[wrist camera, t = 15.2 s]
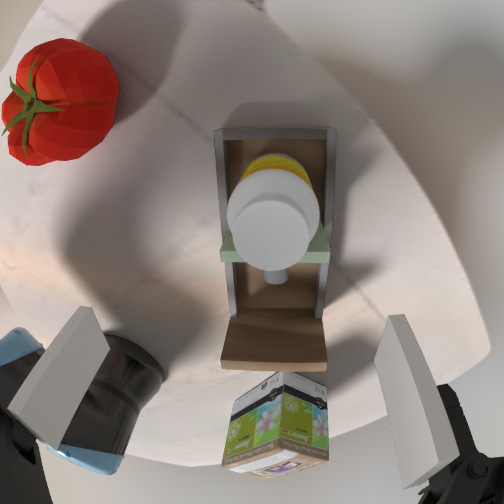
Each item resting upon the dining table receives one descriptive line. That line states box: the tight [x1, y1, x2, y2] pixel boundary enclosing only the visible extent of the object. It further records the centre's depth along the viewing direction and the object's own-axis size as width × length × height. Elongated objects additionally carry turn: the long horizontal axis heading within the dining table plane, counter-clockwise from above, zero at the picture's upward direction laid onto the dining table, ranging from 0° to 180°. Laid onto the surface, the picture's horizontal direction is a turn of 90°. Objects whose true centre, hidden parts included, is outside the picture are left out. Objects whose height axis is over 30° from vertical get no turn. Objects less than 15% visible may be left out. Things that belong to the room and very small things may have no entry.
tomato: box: [2, 38, 120, 166], centre depth 21 cm, size 13×14×12 cm
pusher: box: [220, 218, 330, 284], centre depth 27 cm, size 5×9×8 cm, turn 92°
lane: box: [214, 127, 336, 372], centre depth 27 cm, size 23×11×10 cm, turn 2°
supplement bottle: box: [227, 153, 320, 271], centre depth 23 cm, size 7×7×13 cm
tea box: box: [222, 372, 329, 479], centre depth 40 cm, size 15×10×15 cm, turn 145°
